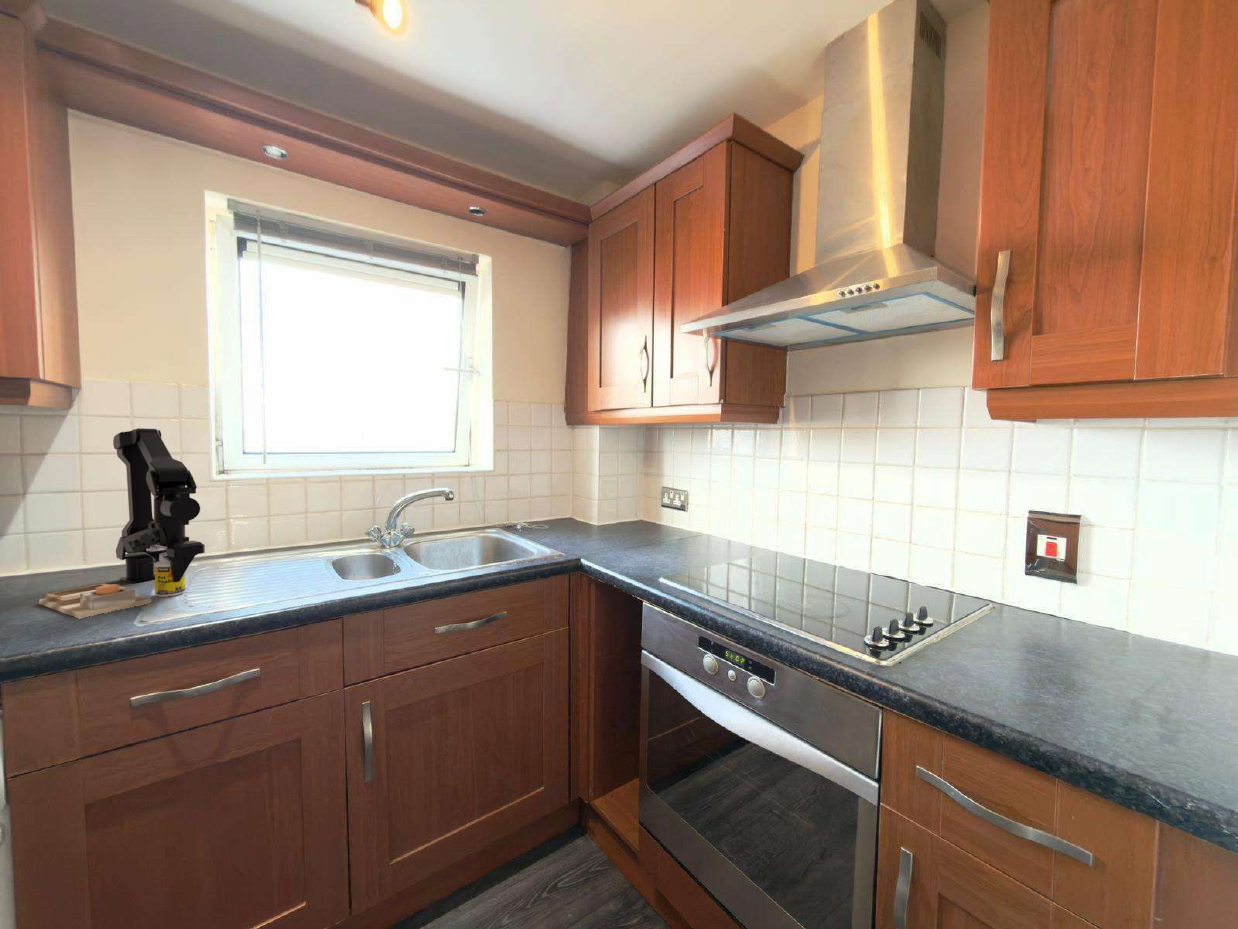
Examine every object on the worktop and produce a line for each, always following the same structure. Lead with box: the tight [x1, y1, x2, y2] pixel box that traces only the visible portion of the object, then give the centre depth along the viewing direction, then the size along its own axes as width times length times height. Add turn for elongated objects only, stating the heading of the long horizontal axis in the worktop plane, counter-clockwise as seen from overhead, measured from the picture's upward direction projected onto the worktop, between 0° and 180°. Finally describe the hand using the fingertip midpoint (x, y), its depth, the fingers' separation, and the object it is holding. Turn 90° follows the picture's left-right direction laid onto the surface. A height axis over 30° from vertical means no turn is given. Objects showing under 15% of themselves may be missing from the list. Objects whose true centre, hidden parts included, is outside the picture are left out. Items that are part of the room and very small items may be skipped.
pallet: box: [38, 582, 152, 620], centre depth 117 cm, size 20×12×4 cm, turn 65°
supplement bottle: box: [154, 553, 186, 598], centre depth 124 cm, size 6×6×10 cm
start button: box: [96, 583, 121, 596], centre depth 114 cm, size 4×4×2 cm
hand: (170, 580), depth 125 cm, fingers closed on supplement bottle, 5 cm apart
